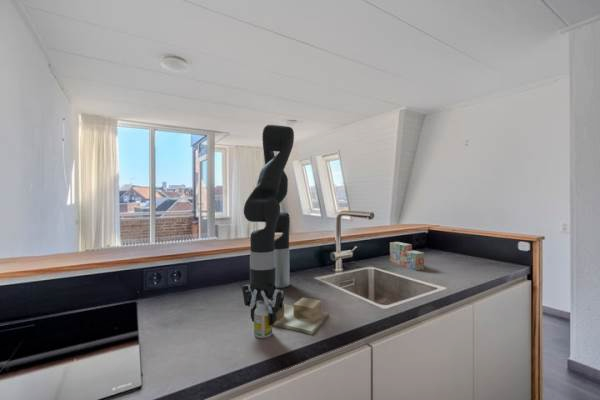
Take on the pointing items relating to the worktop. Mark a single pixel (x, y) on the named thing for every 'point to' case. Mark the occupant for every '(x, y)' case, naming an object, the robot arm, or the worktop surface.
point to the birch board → (300, 321)
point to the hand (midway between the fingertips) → (263, 322)
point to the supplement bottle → (262, 320)
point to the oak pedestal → (307, 308)
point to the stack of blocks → (406, 256)
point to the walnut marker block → (280, 313)
